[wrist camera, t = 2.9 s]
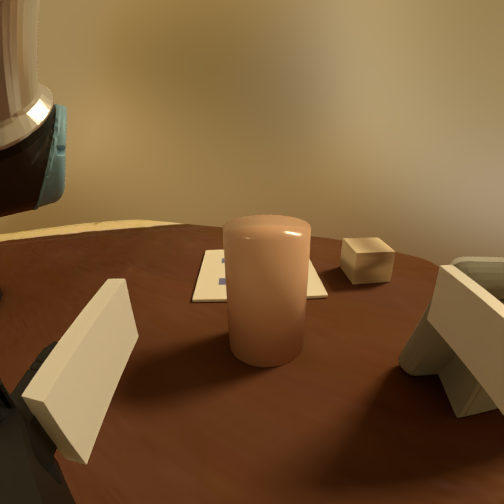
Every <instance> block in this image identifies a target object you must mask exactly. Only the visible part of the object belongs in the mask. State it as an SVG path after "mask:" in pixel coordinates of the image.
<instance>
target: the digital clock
mask: <svg viewBox="0 0 504 504" xmlns="http://www.w3.org/2000/svg"><path fill="white" fill-rule="evenodd" d="M449 265H453V266H455V267H456V268H457V269H459V270H460V271H461V272H463V273H464V274H465V275H467V276H468V277H469V278H471V279H472V280H473V281H475V282H476V283H477V284H479V285H480V286H481V287H482V288H484V289H485V290H486V291H488V292H489V293H490V294H491V295H493V296H494V297H495V298H496V299H497V300H499V301H500V302H501V303H502V304H504V258H499V257H459V258H456V259H454V260H453V261H452V262H451V263H450V264H449ZM432 298H433V297H432ZM431 302H432V299H431V301H430V302H429V304H428V306H427V308H426V310H425V312H424V314H423V316H422V317H421V319H420V321H419V323H418V325H417V326H416V328H415V330H414V331H413V333H412V335H411V337H410V338H409V340H408V342H407V343H406V345H405V347H404V348H403V350H402V352H401V354H400V356H399V364H400V366H401V368H402V369H403V370H404V371H405V372H407V373H408V374H410V375H414V376H419V375H431V374H438V376H439V378H440V380H441V382H442V384H443V387H444V389H445V391H446V394H447V396H448V398H449V401H450V403H451V406H452V408H453V411H454V413H455V415H456V417H457V418H460V417H465V416H469V415H474V414H478V413H482V412H486V411H490V410H494V409H497V408H498V407H497V406H496V404H495V403H494V401H493V400H492V399H491V397H490V396H489V395H488V393H487V392H486V391H485V389H484V388H483V387H482V385H481V384H480V383H479V382H478V380H477V379H476V378H475V376H474V375H473V374H472V373H471V371H470V370H469V369H468V368H467V366H466V365H465V364H464V363H463V361H462V360H461V359H460V358H459V356H458V355H457V354H456V353H455V352H454V350H453V349H452V348H451V347H450V346H449V344H448V343H447V342H446V341H445V340H444V338H443V337H442V336H441V335H440V334H439V333H438V331H437V330H436V329H435V328H434V327H433V326H432V325H431V323H430V322H429V321H428V320H427V317H428V314H429V310H430V306H431Z"/></svg>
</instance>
